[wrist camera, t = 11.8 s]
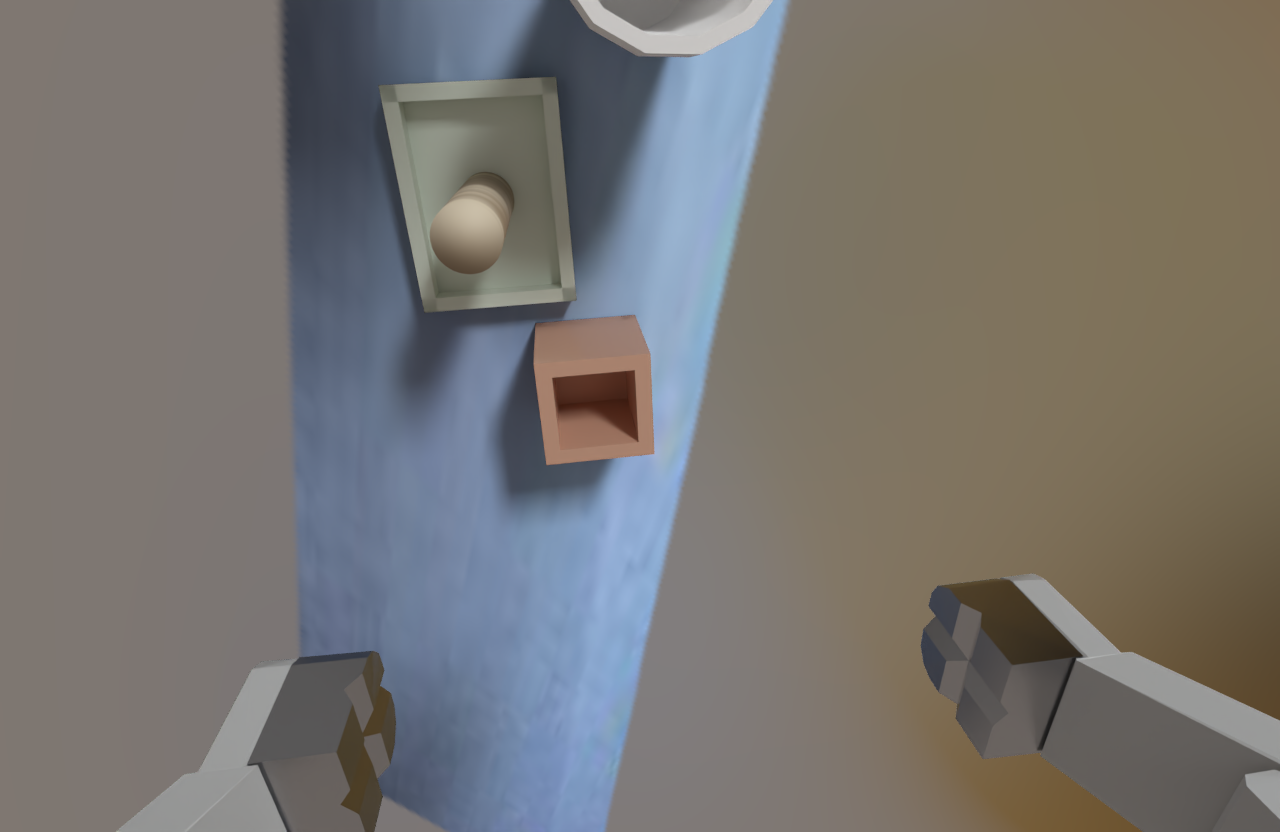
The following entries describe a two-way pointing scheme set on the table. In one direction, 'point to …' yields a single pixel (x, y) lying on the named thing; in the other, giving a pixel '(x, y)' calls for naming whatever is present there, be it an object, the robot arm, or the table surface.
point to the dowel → (473, 224)
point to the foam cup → (670, 23)
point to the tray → (484, 142)
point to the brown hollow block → (593, 389)
